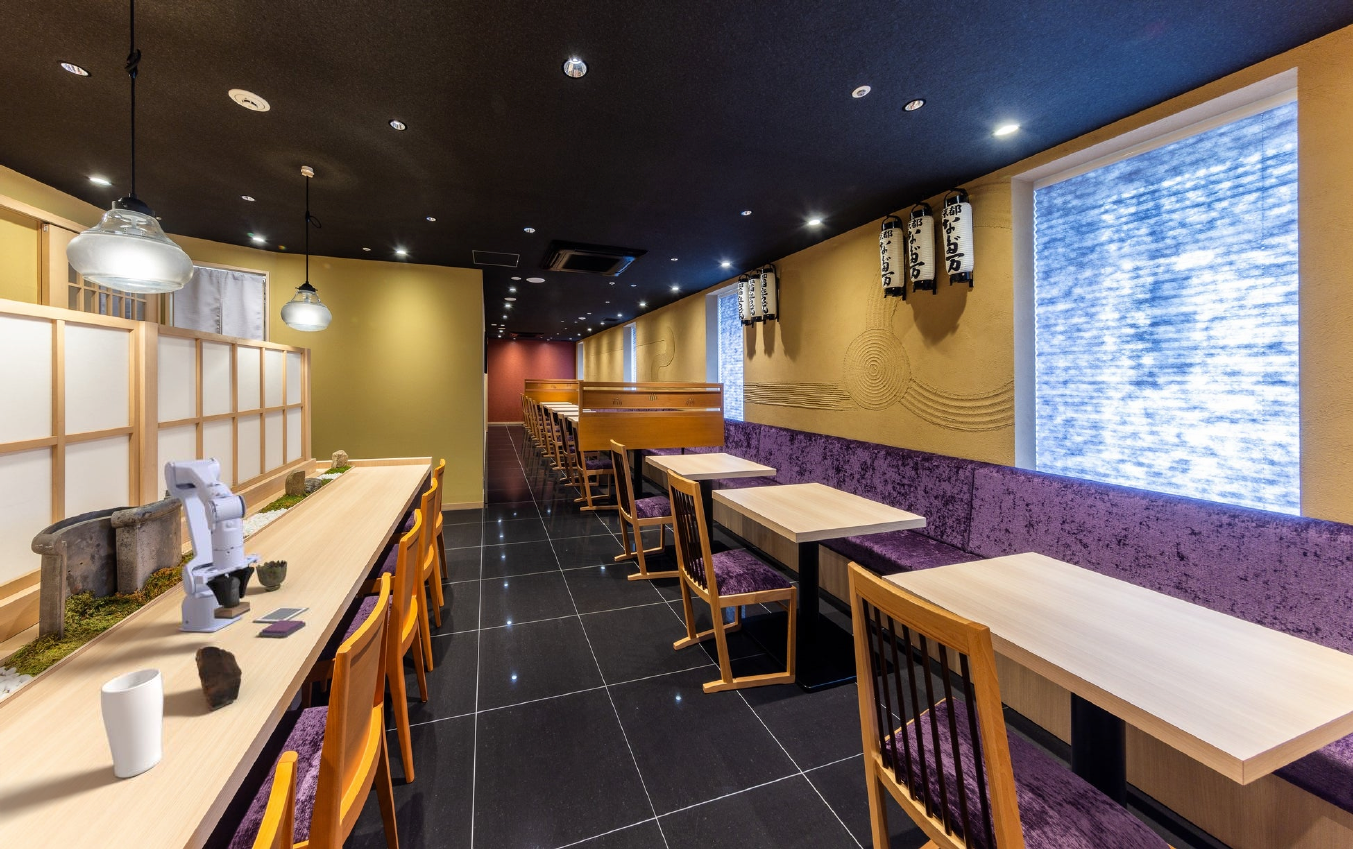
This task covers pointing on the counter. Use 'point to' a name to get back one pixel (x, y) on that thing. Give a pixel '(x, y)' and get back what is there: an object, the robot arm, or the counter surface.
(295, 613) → the stamping board
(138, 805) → the counter surface
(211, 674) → the decorative rock
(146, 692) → the white tumbler
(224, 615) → the wooden stamp
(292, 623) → the ink pad
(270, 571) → the cup
